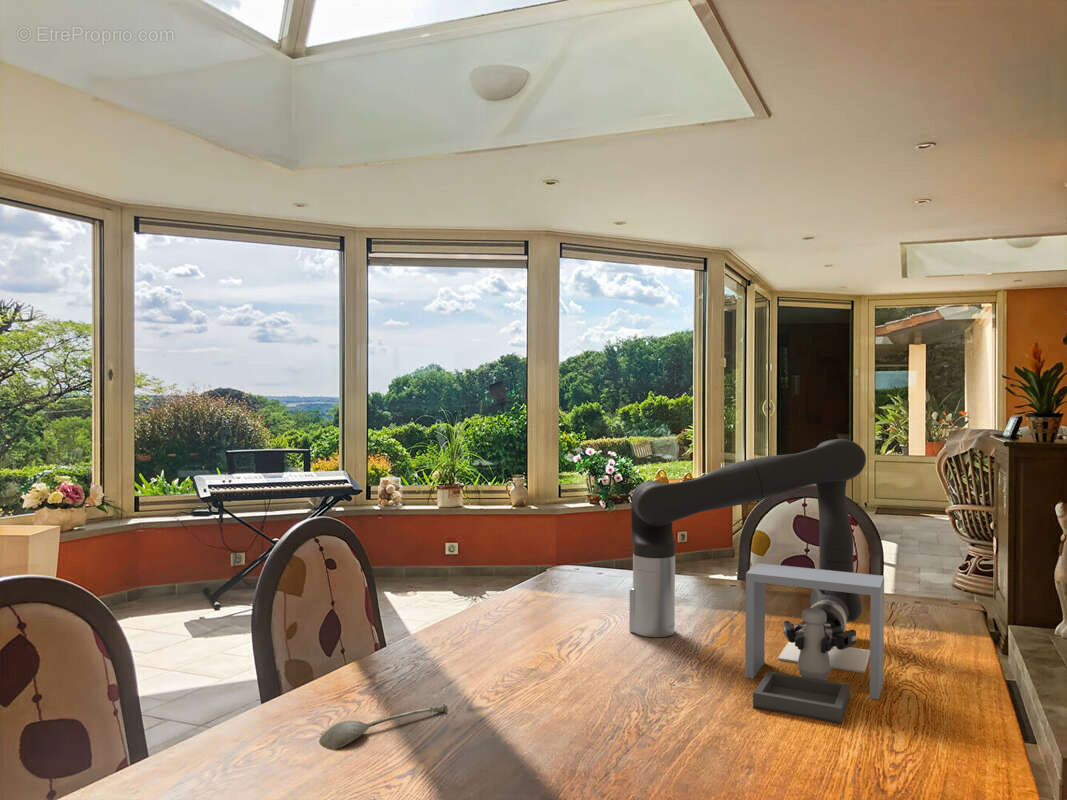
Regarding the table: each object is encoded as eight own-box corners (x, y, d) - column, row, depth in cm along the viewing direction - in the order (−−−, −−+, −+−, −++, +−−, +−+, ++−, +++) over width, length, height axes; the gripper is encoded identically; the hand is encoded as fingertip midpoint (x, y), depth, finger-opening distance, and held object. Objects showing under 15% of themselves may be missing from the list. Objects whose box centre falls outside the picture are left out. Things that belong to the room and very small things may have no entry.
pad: (777, 659, 160) (777, 657, 160) (790, 640, 172) (790, 638, 172) (864, 673, 152) (864, 671, 152) (871, 652, 165) (871, 650, 165)
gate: (745, 677, 150) (745, 573, 150) (756, 661, 159) (757, 563, 159) (878, 699, 139) (879, 587, 139) (883, 681, 148) (884, 575, 148)
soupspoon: (311, 745, 123) (328, 763, 118) (311, 723, 123) (328, 740, 117) (436, 706, 136) (456, 721, 131) (436, 687, 136) (456, 700, 131)
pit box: (752, 707, 136) (753, 692, 135) (767, 684, 146) (767, 671, 146) (841, 723, 129) (841, 708, 129) (849, 698, 140) (849, 684, 140)
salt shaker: (832, 686, 146) (833, 614, 146) (799, 683, 147) (800, 612, 147) (827, 675, 151) (828, 606, 151) (795, 672, 153) (796, 604, 152)
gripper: (788, 599, 165) (772, 620, 150) (863, 608, 158) (853, 631, 143) (788, 635, 165) (771, 660, 150) (862, 646, 158) (853, 673, 143)
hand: (811, 645), depth 147 cm, fingers open, 3 cm apart
